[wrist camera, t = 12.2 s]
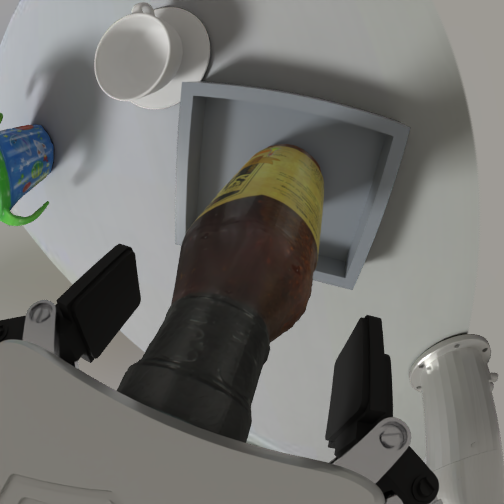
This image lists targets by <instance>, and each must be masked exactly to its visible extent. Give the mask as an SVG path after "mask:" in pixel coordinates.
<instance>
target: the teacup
mask: <svg viewBox="0 0 504 504" xmlns="http://www.w3.org/2000/svg"><path fill="white" fill-rule="evenodd" d="M142 10H143V11H144V12H143V11H142ZM209 59H210V41H209V36H208V33H207V31H206V29H205V27H204V25H203V24H202V22H201V21H200V20H199V19H198V18H197V17H196V16H195V15H193V14H192V13H190V12H189V11H186V10H184V9H181V8H176V7H163V8H158V9H154V10H153V8H152V6H151V5H149V4H148V3H144V2H143V3H138V4H136V5H134V6H133V8H132V11H131V14H130V15H127V16H125V17H123V18H121V19H119V20H118V21H116V22H115V23H114V24H113V25H111V26H110V27H109V29H108V30H107V31H106V32H105V34H104V35H103V37H102V38H101V40H100V42H99V44H98V47H97V50H96V54H95V61H94V69H95V75H96V79H97V81H98V84H99V86H100V87H101V89H102V90H103V91H104V92H105V93H106V94H107V95H108V96H110V97H111V98H113V99H116V100H119V101H130V102H132V103H133V104H135V105H137V106H139V107H142V108H145V109H151V110H157V109H165V108H168V107H171V106H174V105H176V104H178V103H180V98H181V87H182V82H198V81H201V80H202V79H203V77H204V75H205V72H206V70H207V67H208V64H209Z"/></svg>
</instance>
